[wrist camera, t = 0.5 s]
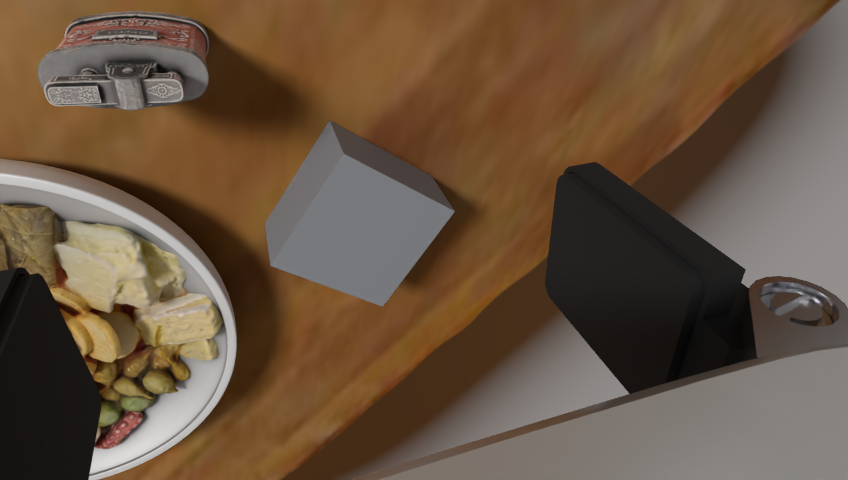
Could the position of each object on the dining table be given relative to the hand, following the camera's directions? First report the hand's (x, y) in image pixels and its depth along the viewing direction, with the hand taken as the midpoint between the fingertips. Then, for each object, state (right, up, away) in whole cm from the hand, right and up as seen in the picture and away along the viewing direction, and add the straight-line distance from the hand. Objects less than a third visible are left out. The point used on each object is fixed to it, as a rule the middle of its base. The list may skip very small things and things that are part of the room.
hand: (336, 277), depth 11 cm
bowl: (-29, -5, +34) cm, 45 cm away
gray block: (-4, +4, +36) cm, 36 cm away
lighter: (-16, +13, +25) cm, 33 cm away
